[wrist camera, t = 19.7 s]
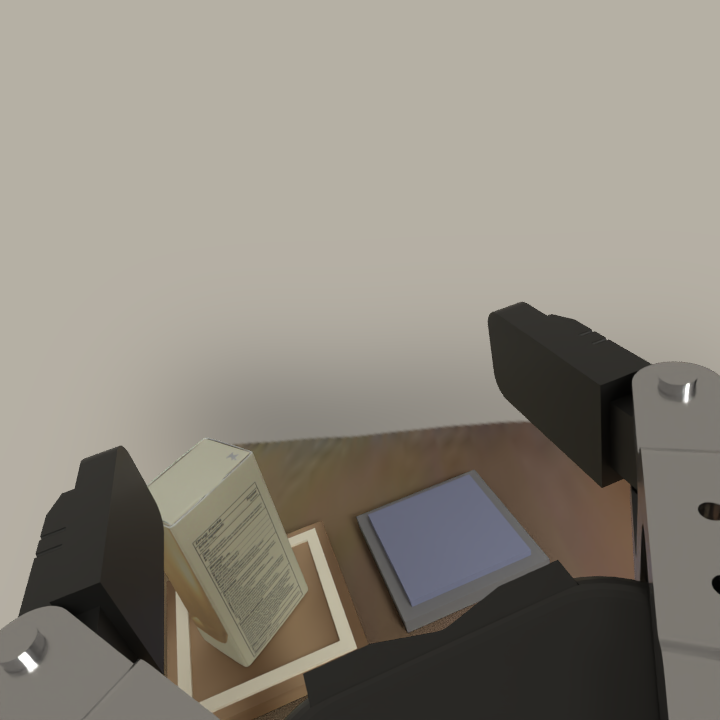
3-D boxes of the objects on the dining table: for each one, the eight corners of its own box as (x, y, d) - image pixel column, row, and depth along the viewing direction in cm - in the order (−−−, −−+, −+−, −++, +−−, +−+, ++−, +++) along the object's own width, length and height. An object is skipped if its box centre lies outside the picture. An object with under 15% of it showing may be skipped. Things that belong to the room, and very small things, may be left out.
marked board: (324, 529, 44) (321, 518, 43) (375, 664, 33) (371, 651, 33) (171, 590, 42) (165, 579, 41) (174, 754, 31) (166, 742, 31)
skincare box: (265, 568, 40) (208, 431, 34) (311, 591, 38) (258, 447, 32) (198, 643, 36) (119, 501, 30) (244, 674, 33) (168, 525, 28)
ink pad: (475, 479, 45) (473, 464, 44) (550, 569, 36) (548, 553, 36) (358, 526, 43) (354, 511, 43) (407, 633, 35) (403, 617, 34)
